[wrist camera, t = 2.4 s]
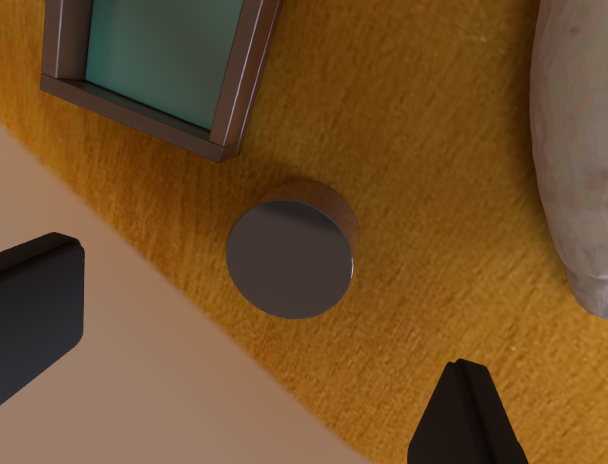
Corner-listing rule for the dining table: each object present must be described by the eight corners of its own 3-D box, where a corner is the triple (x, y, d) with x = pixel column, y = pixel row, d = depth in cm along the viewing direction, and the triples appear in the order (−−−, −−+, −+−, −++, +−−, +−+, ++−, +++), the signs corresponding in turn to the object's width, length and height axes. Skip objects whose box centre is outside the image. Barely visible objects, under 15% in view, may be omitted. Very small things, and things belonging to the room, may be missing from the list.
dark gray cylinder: (288, 157, 14) (265, 172, 12) (381, 222, 14) (381, 252, 12) (235, 242, 16) (204, 272, 13) (318, 299, 16) (306, 341, 13)
